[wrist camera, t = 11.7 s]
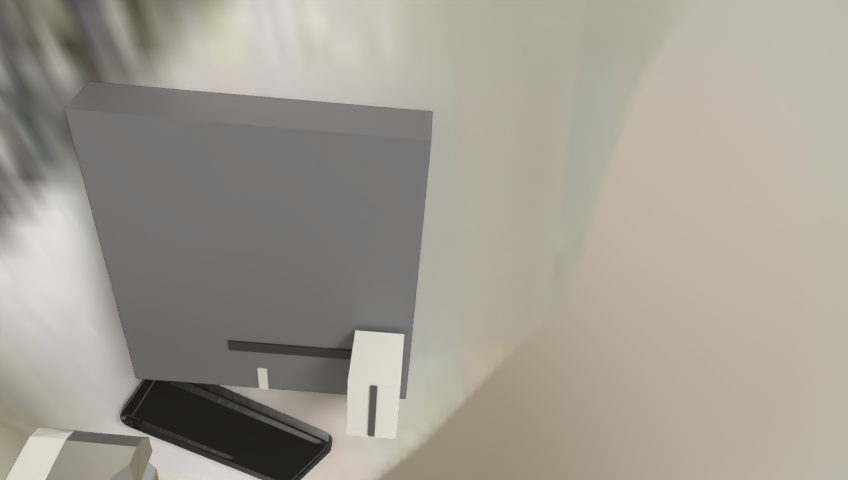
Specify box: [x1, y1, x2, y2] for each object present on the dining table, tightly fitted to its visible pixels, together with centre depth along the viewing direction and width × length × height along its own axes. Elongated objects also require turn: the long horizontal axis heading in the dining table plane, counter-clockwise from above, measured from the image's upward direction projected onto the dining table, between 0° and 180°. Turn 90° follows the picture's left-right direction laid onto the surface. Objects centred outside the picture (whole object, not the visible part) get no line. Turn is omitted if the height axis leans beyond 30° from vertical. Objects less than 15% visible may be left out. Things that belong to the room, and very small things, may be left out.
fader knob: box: [347, 330, 404, 439], centre depth 43 cm, size 3×5×4 cm, turn 175°
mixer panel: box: [65, 82, 433, 399], centre depth 42 cm, size 18×20×3 cm
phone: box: [120, 379, 332, 480], centre depth 54 cm, size 8×1×15 cm
